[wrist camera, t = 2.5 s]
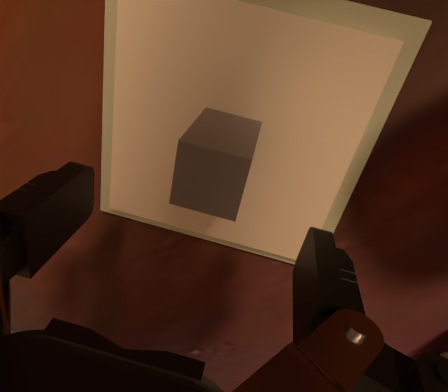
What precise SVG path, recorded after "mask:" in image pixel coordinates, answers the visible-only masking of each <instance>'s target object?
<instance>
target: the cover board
mask: <svg viewBox="0 0 448 392" xmlns="http://www.w3.org/2000/svg"><path fill="white" fill-rule="evenodd" d="M403 43H404V41H401V40H397V39H393V38H389V37H385V36H381V35H377V34H373V33H369V32H364V31H360V30H356V29H352V28H348V27H344V26H340V25H336V24H332V23H328V22H323V21H319V20H315V19H311V18H307V17H303V16H299V15H295V14H291V13H286V12H282V11H278V10H274V9H270V8H266V7H262V6H258V5H254V4H250V3H245V2H241V1H237V0H118V2H117V27H116V53H115V78H114V104H113V129H112V155H111V180H110V206H109V208H110V209H114V210H118V211H121V212H125V213H128V214H132V215H136V216H139V217H143V218H146V219H150V220H154V221H157V222H161V223H164V224H168V225H172V226H175V227H179V228H182V229H186V230H190V231H193V232H197V233H200V234H204V235H208V236H211V237H215V238H218V239H222V240H226V241H229V242H233V243H236V244H240V245H243V246H247V247H251V248H254V249H258V250H261V251H265V252H269V253H272V254H276V255H279V256H283V257H287V258H290V259H294V260H296V259H297V257H298V254H299V252H300V249H301V247H302V244H303V242H304V239H305V237H306V235H307V232H308V230H309V228H310V227H315V228H319V229H322V227H323V224H324V222H325V220H326V218H327V215H328V213H329V211H330V208H331V206H332V204H333V202H334V199H335V197H336V195H337V193H338V190H339V188H340V186H341V184H342V181H343V179H344V177H345V175H346V172H347V170H348V168H349V165H350V163H351V161H352V159H353V156H354V154H355V152H356V150H357V147H358V145H359V143H360V141H361V138H362V136H363V134H364V132H365V129H366V127H367V125H368V122H369V120H370V118H371V116H372V113H373V111H374V109H375V107H376V104H377V102H378V100H379V98H380V95H381V93H382V91H383V88H384V86H385V84H386V82H387V79H388V77H389V75H390V73H391V70H392V68H393V66H394V64H395V61H396V59H397V57H398V55H399V52H400V50H401V48H402V45H403Z"/></svg>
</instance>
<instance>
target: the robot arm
mask: <svg viewBox="0 0 448 392" xmlns="http://www.w3.org/2000/svg"><path fill="white" fill-rule="evenodd" d="M93 205H94V169H93V168H92V167H90V166H87V165H83V164H79V163H76V162H69V163H67V164H66V165H64V166H63V167H61V168H60V169H58V170H57V171H50V172H47V173H44V174H40V175H38V176H36V177H35V178H33V179H32V180H30V181H29V182H28V184H24V185H23V186H21V187H20V188H19V190H18V189H17V190H15V191H14V192H12V193H11V194H9V195H8V196H6V197H5V198H3V199H1V200H0V392H223V391H222V390H221V389H220V388H219V387H218V386H217V385H216V384H215V383H213V382H212V381H211V380H210V379H208V378H206V377H205V376H203V371H204V366H205V362H202V361H199V360H195V359H192V358H189V357H185V356H182V355H178V354H175V353H171V352H168V351H149V350H128V349H123V348H121V347H119V346H118V345H116V344H114V343H113V342H111V341H109V340H108V339H106V338H105V337H103V336H101V335H100V334H98V333H96V332H95V331H93V330H91V329H89V328H86V327H82V326H79V325H76V324H72V323H69V322H65V321H62V320H58V319H55V318H53V319H52V320H51V322H50V323H49V324H48V326H47V327H46V328H45V329H44V330H28V331H22V332H17V333H13V334H11V287H10V279H11V278H12V277H13V276H15V275H19V276H23V277H26V278H30V279H31V278H32V277H33V276H34V275H35V273H36V272H37V271H38V270H39V269H40V268H41V267H42V266H43V265H44V264H45V263H46V262H47V261H48V260H49V259H50V258H51V257H52V256H53V255H54V254H55V253H56V252H57V251H58V250H59V249H60V248H61V246H62V245H63V244H64V243H65V242H66V241H67V240H68V239H69V238H70V237H71V236H72V235H73V234H74V233H75V232H76V231H77V230H78V229H79V228H80V227H81V226H82V225H83V224H84V223H85V222H86V221H87V219H88V218H89V217H90V215H91V213H92V210H93ZM232 392H448V359H447V358H445V357H443V356H441V355H438V354H434V353H425V354H422V355H421V356H420V357H419V358H418V359H417V360H416V361H415V360H413V359H411V358H410V357H408V356H406V355H404V354H402V353H400V352H399V351H397V350H395V349H393V348H392V347H390V346H388V345H387V344H386V343H384V338H383V335H382V332H381V331H380V329H379V328H378V326H377V325H376V324H375V323H374V322H373V321H372V320H371V319H370V318H368V317H367V316H366V315H365V311H364V307H363V303H362V299H361V295H360V291H359V287H358V284H357V278H356V275H355V270H354V266H353V262H352V260H351V259H350V257H349V256H348V255H347V253H346V252H345V251H344V250H342V249H339V248H336V247H335V242H334V236H333V233H332V232H330V231H326V230H322V229H319V228H315V227H310V228H309V230H308V232H307V235H306V237H305V239H304V242H303V244H302V247H301V249H300V252H299V254H298V257H297V259H296V262H295V265H294V270H293V342H292V343H290V344H288V345H287V346H285V347H284V348H283V349H282V350H281V351H279V352H278V353H277V354H276V355H275V356H274V357H272V358H271V359H270V360H269V361H268V362H266V363H265V364H264V365H263V366H262V367H261V368H259V369H258V370H257V371H256V372H255V373H254V374H252V375H251V376H250V377H249V378H248V379H246V380H245V381H244V382H243V383H242V384H241V385H239V386H238V387H237V388H236V389H235V390H234V391H232Z"/></svg>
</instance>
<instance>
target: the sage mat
mask: <svg viewBox="0 0 448 392" xmlns="http://www.w3.org/2000/svg"><path fill="white" fill-rule="evenodd" d="M237 1H241V2H245V3H250V4H254V5H258V6H262V7H266V8H270V9H274V10H278V11H282V12H286V13H291V14H295V15H299V16H303V17H307V18H311V19H315V20H319V21H323V22H328V23H332V24H336V25H340V26H344V27H348V28H352V29H356V30H360V31H364V32H369V33H373V34H377V35H381V36H385V37H389V38H393V39H397V40H401V41H404V43H403V45H402V48H401V50H400V52H399V55H398V57H397V59H396V61H395V64H394V66H393V68H392V70H391V73H390V75H389V77H388V79H387V82H386V84H385V86H384V88H383V91H382V93H381V95H380V98H379V100H378V102H377V104H376V107H375V109H374V111H373V113H372V116H371V118H370V120H369V122H368V125H367V127H366V129H365V132H364V134H363V136H362V138H361V141H360V143H359V145H358V147H357V150H356V152H355V154H354V156H353V159H352V161H351V163H350V165H349V168H348V170H347V172H346V175H345V177H344V179H343V181H342V184H341V186H340V188H339V190H338V193H337V195H336V197H335V199H334V202H333V204H332V206H331V208H330V211H329V213H328V215H327V218H326V220H325V222H324V224H323V227H322V230H326V231H330V232H332V233H334V231H335V228H336V226H337V224H338V222H339V220H340V218H341V216H342V213H343V211H344V209H345V207H346V205H347V203H348V201H349V198H350V196H351V194H352V192H353V190H354V188H355V186H356V184H357V181H358V179H359V177H360V175H361V173H362V171H363V169H364V166H365V164H366V162H367V160H368V158H369V156H370V154H371V151H372V149H373V147H374V145H375V143H376V141H377V139H378V137H379V134H380V132H381V130H382V128H383V126H384V124H385V122H386V119H387V117H388V115H389V113H390V111H391V109H392V107H393V104H394V102H395V100H396V98H397V96H398V94H399V92H400V89H401V87H402V85H403V83H404V81H405V79H406V77H407V75H408V72H409V70H410V68H411V66H412V64H413V62H414V60H415V57H416V55H417V53H418V51H419V49H420V47H421V45H422V42H423V40H424V38H425V36H426V34H427V32H428V30H429V27H430V25H431V23H432V21H430V20H426V19H422V18H418V17H414V16H409V15H405V14H401V13H397V12H393V11H389V10H385V9H380V8H376V7H372V6H368V5H364V4H360V3H355V2H351V1H347V0H237ZM117 2H118V0H105V30H104V74H103V118H102V162H101V206H100V210H101V211H105V212H108V213H112V214H115V215H119V216H123V217H126V218H130V219H133V220H137V221H140V222H144V223H148V224H151V225H155V226H158V227H162V228H166V229H169V230H173V231H176V232H180V233H184V234H187V235H191V236H194V237H198V238H201V239H205V240H209V241H212V242H216V243H219V244H223V245H227V246H230V247H234V248H237V249H241V250H245V251H248V252H252V253H255V254H259V255H262V256H266V257H270V258H273V259H277V260H280V261H284V262H288V263H291V264H295V262H296V260H294V259H290V258H287V257H283V256H279V255H276V254H272V253H269V252H265V251H261V250H258V249H254V248H251V247H247V246H243V245H240V244H236V243H233V242H229V241H226V240H222V239H218V238H215V237H211V236H208V235H204V234H200V233H197V232H193V231H190V230H186V229H182V228H179V227H175V226H172V225H168V224H164V223H161V222H157V221H154V220H150V219H146V218H143V217H139V216H136V215H132V214H128V213H125V212H121V211H118V210H114V209H110V208H109V206H110V180H111V155H112V129H113V104H114V78H115V53H116V27H117Z"/></svg>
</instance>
